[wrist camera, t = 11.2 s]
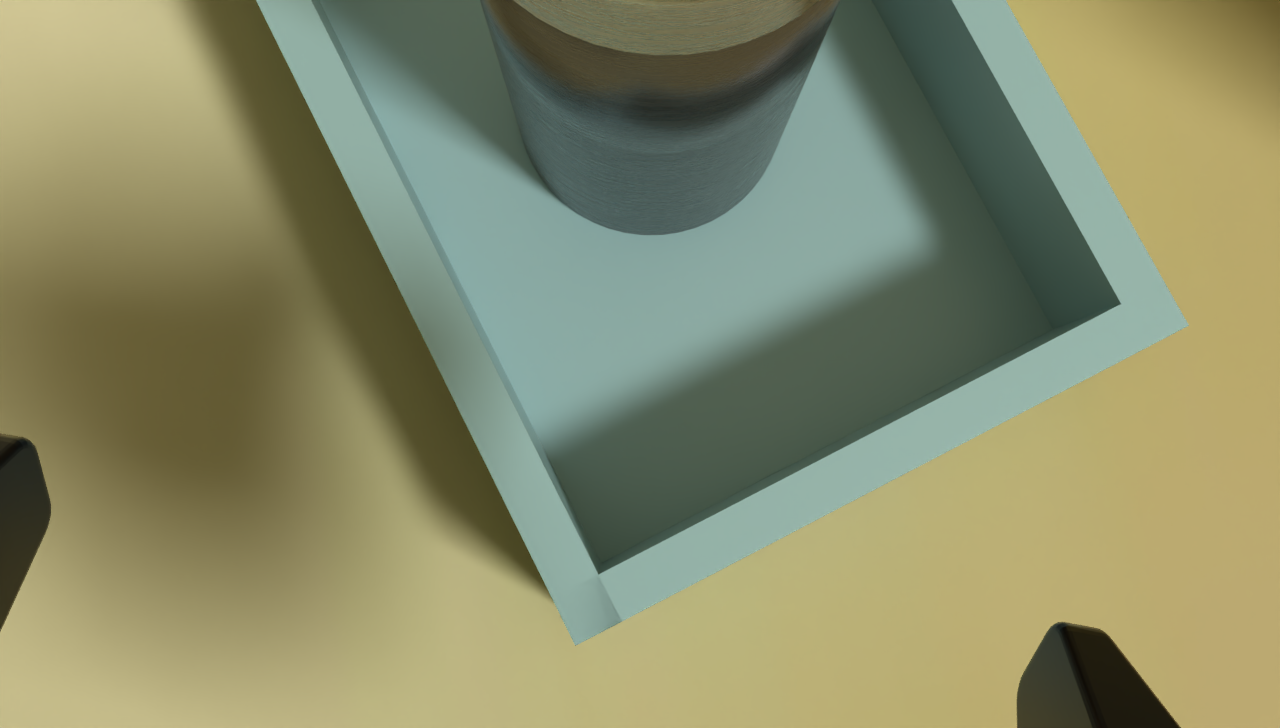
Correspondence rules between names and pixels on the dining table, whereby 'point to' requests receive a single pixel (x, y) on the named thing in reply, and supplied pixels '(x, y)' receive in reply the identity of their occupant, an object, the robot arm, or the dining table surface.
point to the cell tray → (733, 283)
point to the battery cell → (654, 99)
